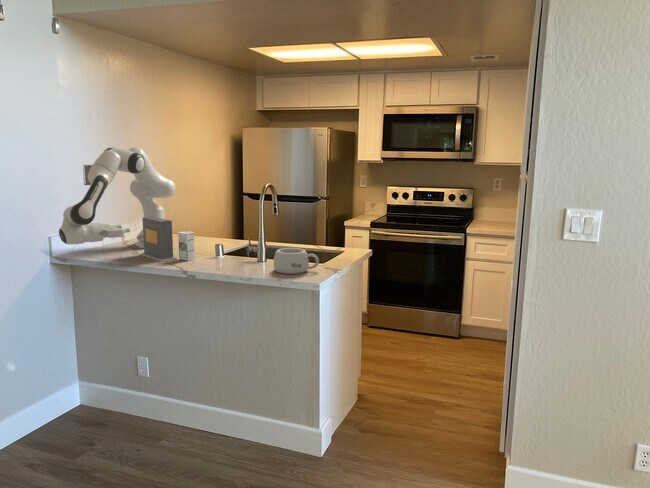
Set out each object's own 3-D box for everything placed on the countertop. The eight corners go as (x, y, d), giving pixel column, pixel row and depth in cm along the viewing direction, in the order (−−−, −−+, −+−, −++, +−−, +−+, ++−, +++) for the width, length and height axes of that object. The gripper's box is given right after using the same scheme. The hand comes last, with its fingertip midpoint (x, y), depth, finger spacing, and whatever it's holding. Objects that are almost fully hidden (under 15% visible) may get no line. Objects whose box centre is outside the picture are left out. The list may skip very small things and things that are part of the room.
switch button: (146, 241, 275) (145, 228, 274) (151, 240, 277) (150, 227, 276) (156, 244, 266) (156, 230, 265) (162, 243, 269) (161, 230, 267)
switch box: (140, 255, 279) (138, 217, 276) (156, 252, 285) (154, 216, 282) (160, 261, 264) (158, 222, 260) (176, 259, 270) (175, 220, 266)
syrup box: (195, 259, 271) (194, 231, 268) (187, 261, 266) (186, 233, 263) (186, 258, 273) (185, 230, 271) (178, 260, 268) (177, 232, 266)
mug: (271, 275, 241) (271, 253, 239) (275, 266, 257) (275, 246, 255) (318, 275, 241) (318, 254, 239) (318, 267, 257) (319, 247, 256)
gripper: (105, 228, 243) (134, 225, 252) (88, 223, 257) (116, 220, 266) (106, 242, 244) (134, 238, 254) (89, 235, 258) (116, 232, 268)
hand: (125, 228), depth 260 cm, fingers open, 8 cm apart
